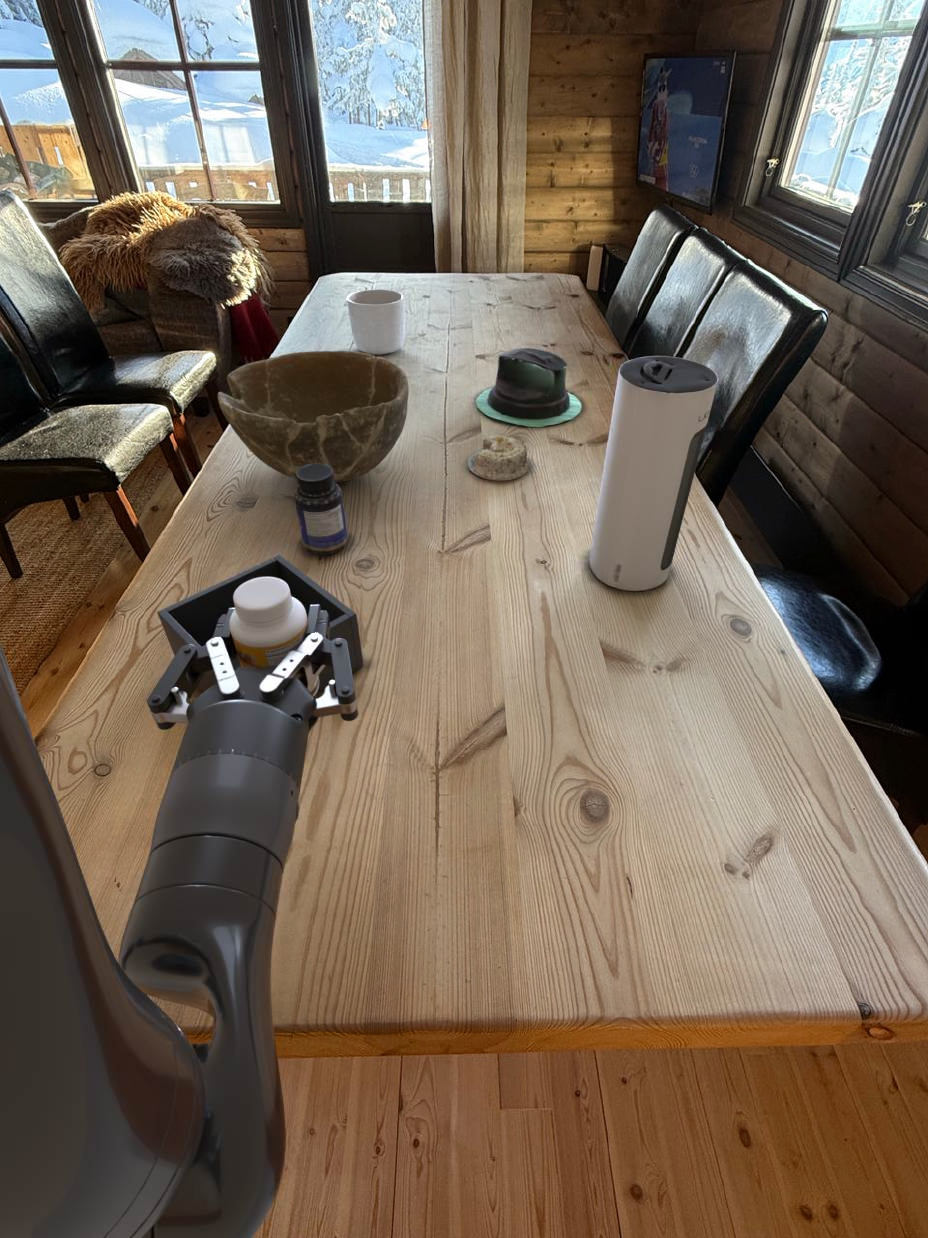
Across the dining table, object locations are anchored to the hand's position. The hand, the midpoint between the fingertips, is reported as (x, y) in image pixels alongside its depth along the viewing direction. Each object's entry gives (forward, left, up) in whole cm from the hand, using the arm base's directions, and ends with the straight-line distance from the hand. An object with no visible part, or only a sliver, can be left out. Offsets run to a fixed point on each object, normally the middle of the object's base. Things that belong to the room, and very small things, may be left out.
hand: (277, 615), depth 52 cm
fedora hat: (+77, +40, -18) cm, 89 cm away
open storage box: (+4, +13, -18) cm, 23 cm away
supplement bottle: (-2, -2, -6) cm, 7 cm away
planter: (+76, +84, -18) cm, 115 cm away
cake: (+55, +27, -18) cm, 64 cm away
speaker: (+47, -4, -18) cm, 50 cm away
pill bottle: (+22, +28, -18) cm, 40 cm away
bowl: (+33, +45, -18) cm, 59 cm away
